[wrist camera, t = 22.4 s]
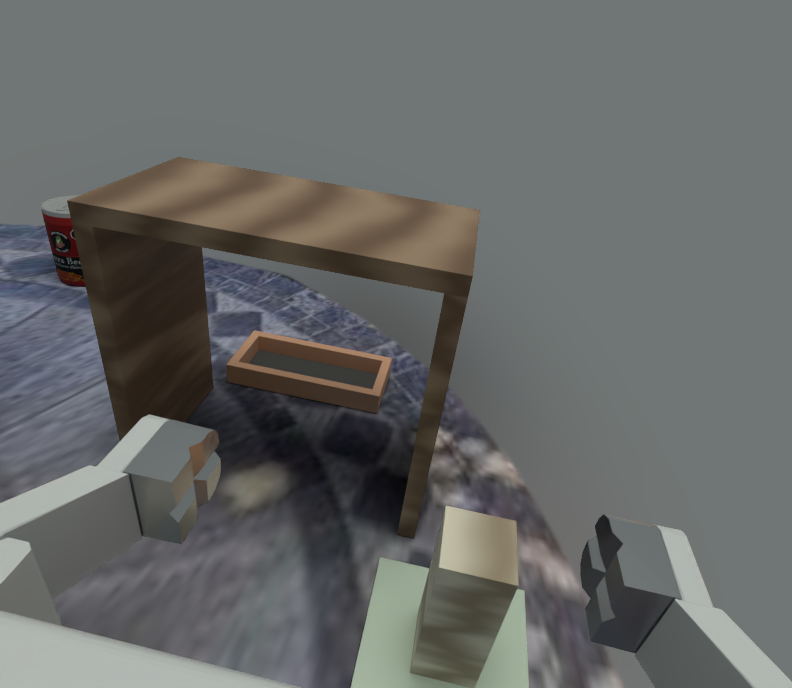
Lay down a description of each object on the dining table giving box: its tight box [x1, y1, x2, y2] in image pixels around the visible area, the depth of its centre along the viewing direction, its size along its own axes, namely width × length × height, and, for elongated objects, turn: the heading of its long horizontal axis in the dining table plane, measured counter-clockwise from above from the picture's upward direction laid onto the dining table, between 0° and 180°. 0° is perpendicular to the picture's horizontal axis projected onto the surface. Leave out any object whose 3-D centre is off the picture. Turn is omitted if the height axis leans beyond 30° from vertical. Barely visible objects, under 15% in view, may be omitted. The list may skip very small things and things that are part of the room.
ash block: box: [410, 506, 518, 688], centre depth 34 cm, size 4×4×12 cm
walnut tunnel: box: [67, 157, 480, 538], centre depth 45 cm, size 27×14×26 cm, turn 80°
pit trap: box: [226, 330, 392, 413], centre depth 62 cm, size 18×8×2 cm, turn 80°
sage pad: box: [351, 557, 529, 688], centre depth 37 cm, size 12×12×1 cm
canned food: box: [41, 196, 86, 286], centre depth 74 cm, size 8×8×11 cm
